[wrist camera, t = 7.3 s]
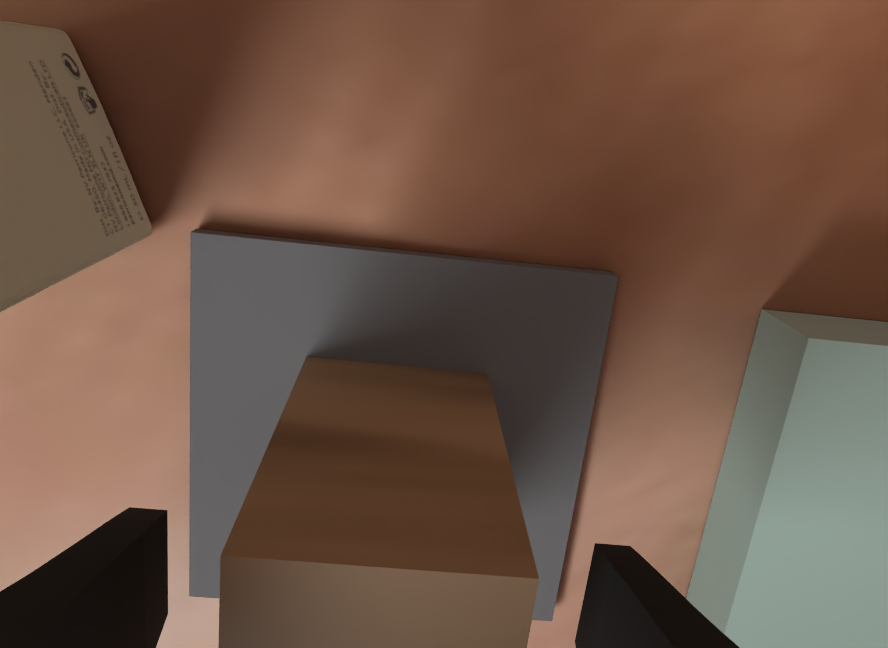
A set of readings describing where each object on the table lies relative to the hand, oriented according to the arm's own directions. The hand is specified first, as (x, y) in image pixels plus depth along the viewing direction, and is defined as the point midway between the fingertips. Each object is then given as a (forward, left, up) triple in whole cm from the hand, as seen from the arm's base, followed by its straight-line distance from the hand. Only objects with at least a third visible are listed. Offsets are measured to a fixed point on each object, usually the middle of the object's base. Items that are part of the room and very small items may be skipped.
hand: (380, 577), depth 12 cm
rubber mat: (0, 0, -5) cm, 5 cm away
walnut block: (0, 0, -5) cm, 5 cm away
